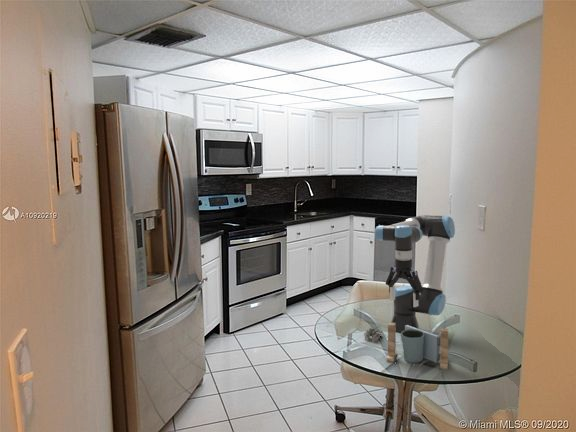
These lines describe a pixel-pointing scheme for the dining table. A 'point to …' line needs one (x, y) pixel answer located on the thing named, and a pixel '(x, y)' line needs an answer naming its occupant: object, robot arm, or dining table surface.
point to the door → (429, 345)
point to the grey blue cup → (413, 345)
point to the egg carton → (374, 334)
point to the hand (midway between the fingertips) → (404, 303)
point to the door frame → (393, 352)
